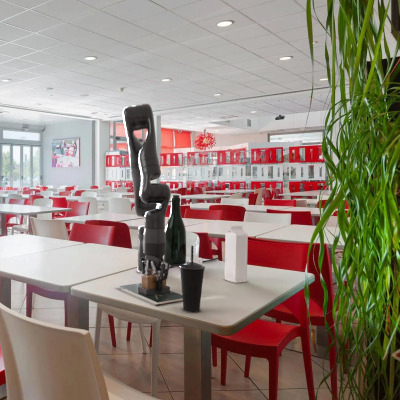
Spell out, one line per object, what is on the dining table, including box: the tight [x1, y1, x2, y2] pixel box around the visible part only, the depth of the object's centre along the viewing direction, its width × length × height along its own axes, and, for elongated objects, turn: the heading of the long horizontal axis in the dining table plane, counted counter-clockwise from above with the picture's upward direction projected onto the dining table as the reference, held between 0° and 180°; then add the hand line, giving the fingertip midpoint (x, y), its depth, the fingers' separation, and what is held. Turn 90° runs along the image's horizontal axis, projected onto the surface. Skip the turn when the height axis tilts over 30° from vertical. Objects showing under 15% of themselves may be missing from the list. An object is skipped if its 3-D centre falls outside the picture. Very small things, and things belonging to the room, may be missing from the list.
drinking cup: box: [178, 245, 206, 313], centre depth 129 cm, size 8×8×20 cm
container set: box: [188, 256, 203, 266], centre depth 179 cm, size 20×5×6 cm, turn 155°
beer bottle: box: [163, 194, 187, 266], centre depth 201 cm, size 10×10×33 cm
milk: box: [224, 225, 249, 284], centre depth 167 cm, size 6×6×22 cm
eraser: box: [138, 273, 171, 296], centre depth 146 cm, size 10×5×6 cm, turn 117°
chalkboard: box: [118, 282, 183, 307], centre depth 148 cm, size 14×24×1 cm, turn 27°
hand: (153, 289), depth 146 cm, fingers closed on eraser, 5 cm apart
